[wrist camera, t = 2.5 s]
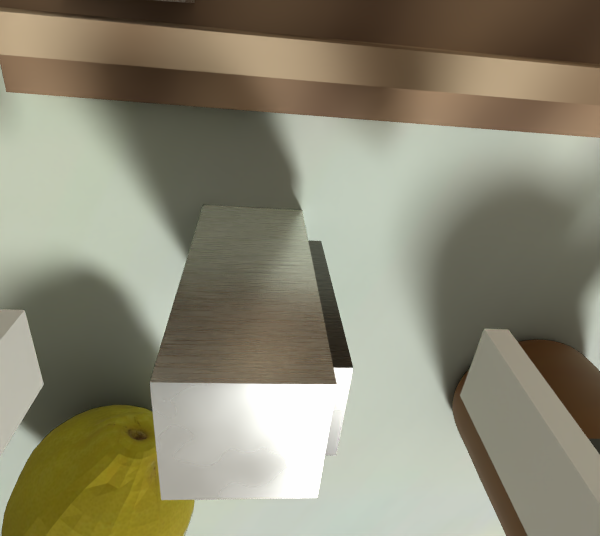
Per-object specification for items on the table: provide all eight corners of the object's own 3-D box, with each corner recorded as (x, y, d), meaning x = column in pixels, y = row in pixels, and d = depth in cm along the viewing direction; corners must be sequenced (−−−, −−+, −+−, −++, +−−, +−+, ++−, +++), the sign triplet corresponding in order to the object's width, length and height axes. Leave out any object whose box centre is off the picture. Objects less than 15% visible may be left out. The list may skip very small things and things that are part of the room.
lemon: (148, 505, 27) (109, 673, 21) (17, 461, 25) (-78, 637, 18) (249, 395, 24) (243, 557, 17) (107, 328, 21) (30, 487, 14)
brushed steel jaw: (316, 210, 19) (363, 385, 10) (307, 292, 21) (339, 497, 12) (203, 204, 18) (149, 382, 10) (204, 289, 20) (161, 500, 12)
